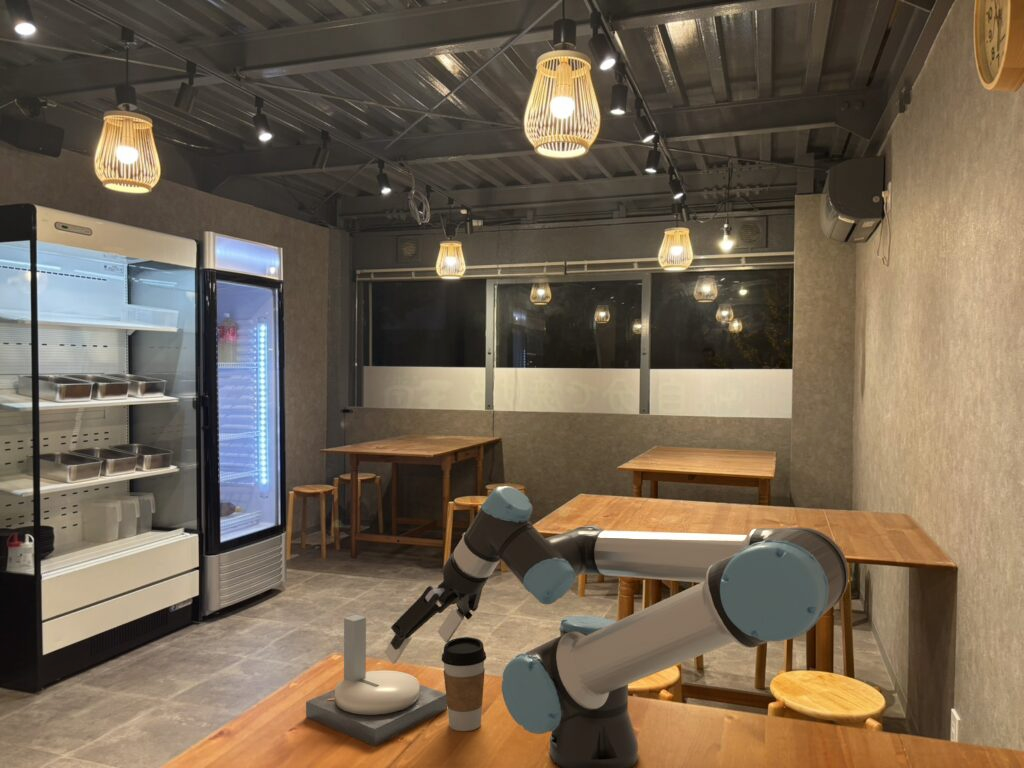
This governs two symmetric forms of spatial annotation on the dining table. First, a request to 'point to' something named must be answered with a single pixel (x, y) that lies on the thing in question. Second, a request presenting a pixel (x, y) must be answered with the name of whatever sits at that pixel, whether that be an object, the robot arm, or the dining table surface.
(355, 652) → the dial
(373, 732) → the dial housing
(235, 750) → the dining table surface
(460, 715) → the coffee cup
